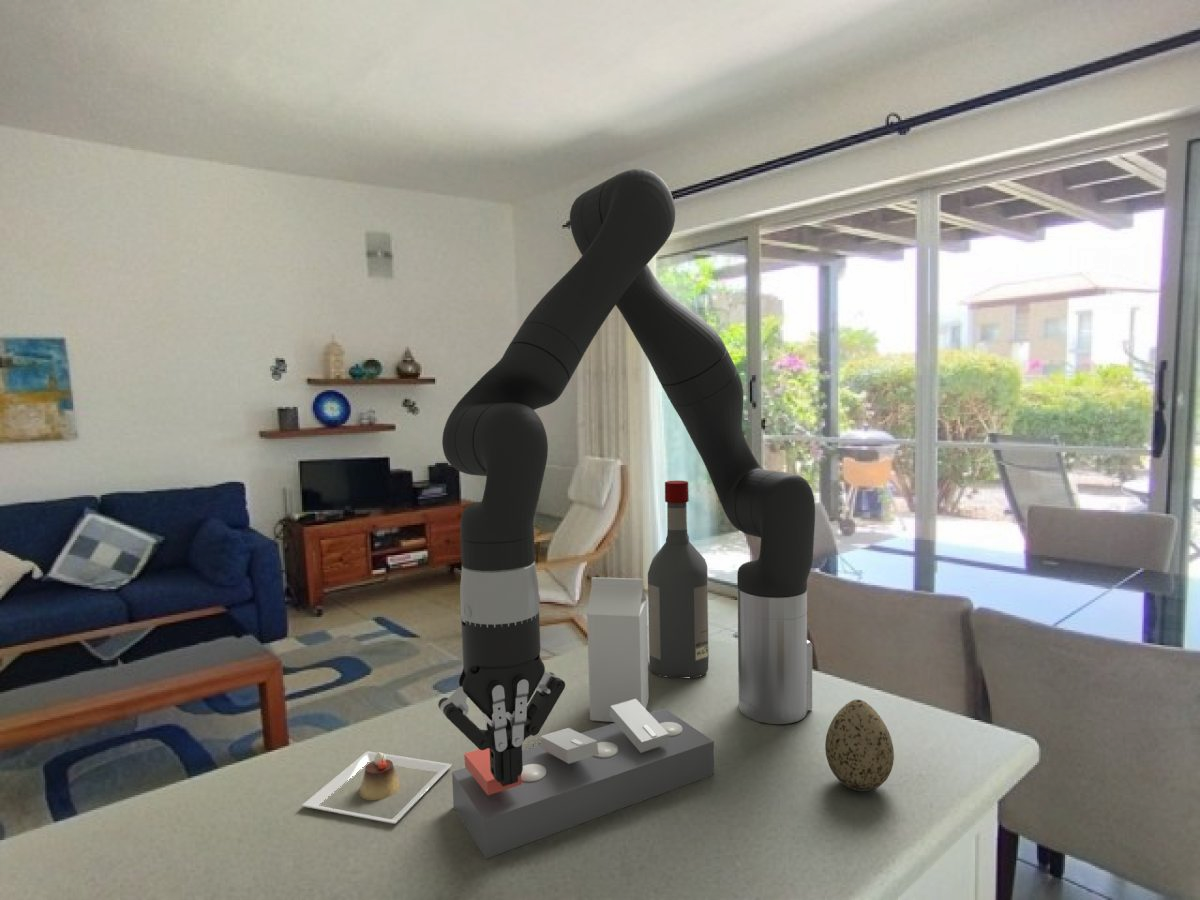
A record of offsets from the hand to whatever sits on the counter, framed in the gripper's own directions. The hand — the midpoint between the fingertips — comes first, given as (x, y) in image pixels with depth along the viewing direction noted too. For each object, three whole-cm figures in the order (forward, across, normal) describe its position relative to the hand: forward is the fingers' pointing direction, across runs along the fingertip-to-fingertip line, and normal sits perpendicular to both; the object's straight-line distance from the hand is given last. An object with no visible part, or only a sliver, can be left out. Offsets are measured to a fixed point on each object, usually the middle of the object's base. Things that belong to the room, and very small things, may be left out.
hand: (506, 780), depth 70 cm
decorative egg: (+7, -37, +11) cm, 40 cm away
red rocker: (+1, 0, -4) cm, 4 cm away
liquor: (+6, -40, -27) cm, 49 cm away
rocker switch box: (+6, -11, -4) cm, 14 cm away
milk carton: (+6, -24, -19) cm, 31 cm away
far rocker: (+1, -18, -4) cm, 19 cm away
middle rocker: (+1, -9, -4) cm, 10 cm away
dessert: (+7, +9, -18) cm, 21 cm away
